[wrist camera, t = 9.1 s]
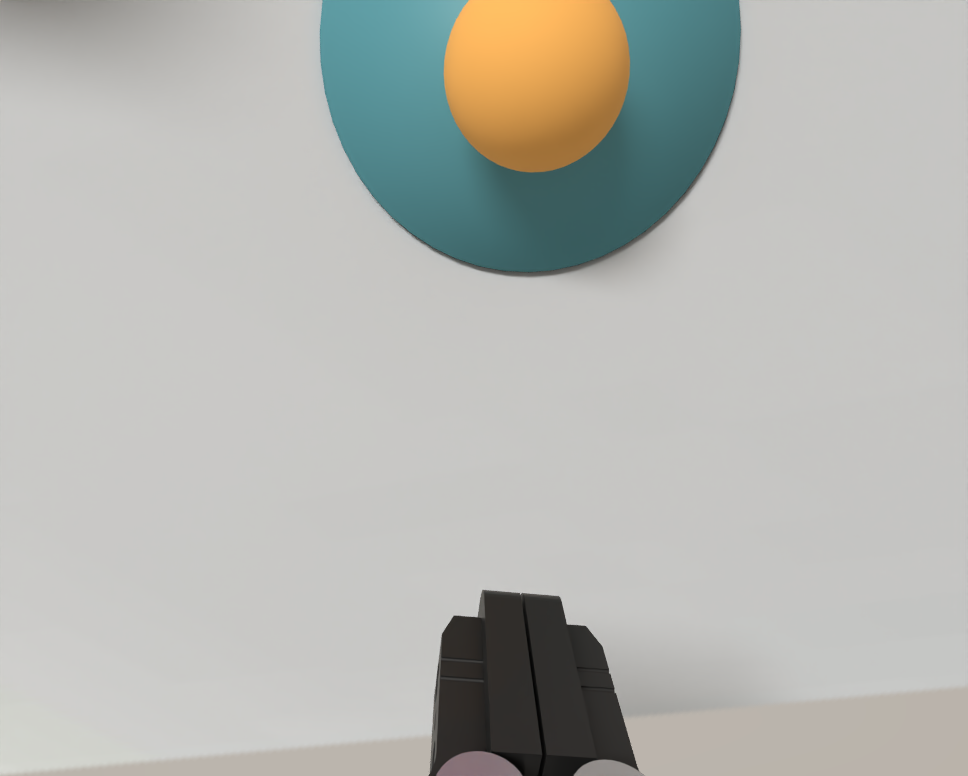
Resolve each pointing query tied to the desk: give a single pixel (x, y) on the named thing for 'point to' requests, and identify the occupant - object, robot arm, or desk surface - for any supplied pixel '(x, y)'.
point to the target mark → (509, 193)
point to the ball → (536, 78)
